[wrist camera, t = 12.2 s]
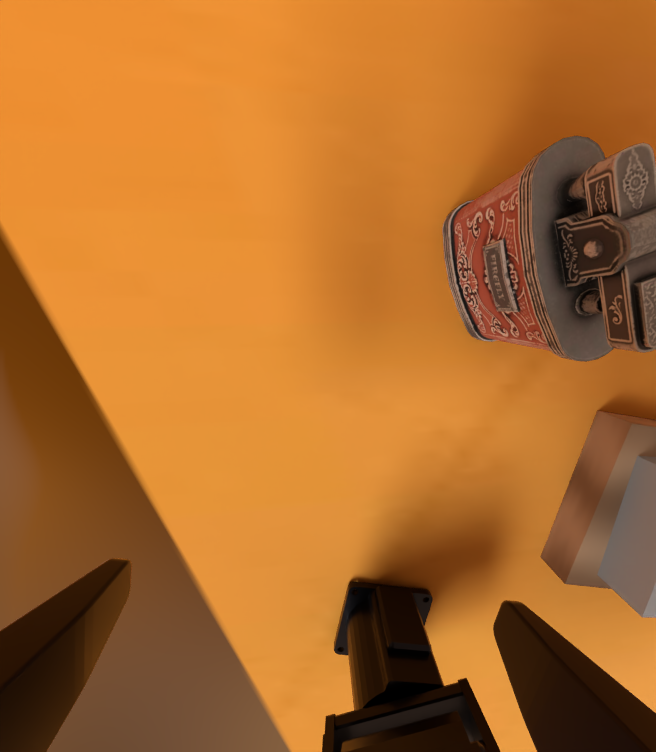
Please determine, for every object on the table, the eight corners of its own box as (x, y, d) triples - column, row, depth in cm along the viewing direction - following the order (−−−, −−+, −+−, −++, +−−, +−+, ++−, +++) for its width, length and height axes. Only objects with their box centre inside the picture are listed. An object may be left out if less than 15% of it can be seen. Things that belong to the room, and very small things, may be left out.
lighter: (431, 217, 18) (577, 111, 8) (487, 195, 18) (705, 62, 8) (465, 347, 20) (617, 391, 10) (516, 329, 19) (721, 354, 10)
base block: (669, 565, 25) (715, 599, 22) (534, 550, 24) (565, 583, 21) (736, 431, 23) (798, 450, 20) (588, 407, 22) (631, 423, 19)
